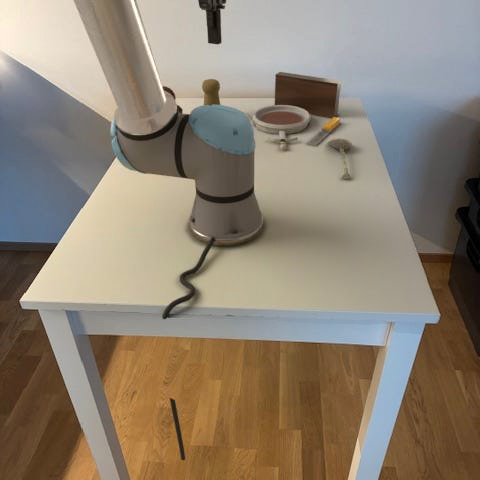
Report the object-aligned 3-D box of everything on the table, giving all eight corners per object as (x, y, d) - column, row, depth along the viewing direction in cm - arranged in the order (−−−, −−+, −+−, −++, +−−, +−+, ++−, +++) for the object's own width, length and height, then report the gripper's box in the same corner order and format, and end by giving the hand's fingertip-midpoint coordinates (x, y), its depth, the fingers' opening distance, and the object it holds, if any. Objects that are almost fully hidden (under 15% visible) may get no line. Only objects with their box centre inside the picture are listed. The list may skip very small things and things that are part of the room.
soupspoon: (350, 145, 133) (326, 146, 134) (351, 133, 131) (326, 133, 132) (359, 179, 116) (331, 180, 117) (360, 166, 114) (332, 167, 115)
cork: (213, 113, 151) (211, 75, 143) (226, 118, 147) (225, 79, 140) (198, 118, 148) (196, 80, 140) (211, 124, 144) (209, 84, 137)
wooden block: (333, 118, 146) (337, 83, 140) (274, 107, 154) (275, 74, 147) (337, 115, 148) (341, 80, 142) (278, 104, 156) (279, 71, 149)
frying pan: (251, 142, 128) (253, 103, 148) (251, 153, 130) (253, 113, 150) (315, 142, 127) (309, 103, 148) (314, 153, 129) (308, 113, 150)
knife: (316, 145, 132) (317, 139, 131) (308, 144, 133) (308, 138, 132) (340, 123, 143) (340, 118, 142) (332, 122, 144) (333, 116, 143)
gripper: (207, -91, 89) (213, 52, 105) (241, -94, 98) (243, 38, 113) (173, -91, 92) (185, 48, 108) (210, -94, 100) (215, 35, 116)
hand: (214, 43), depth 111 cm, fingers closed
